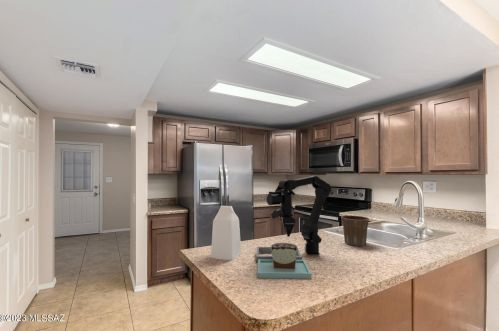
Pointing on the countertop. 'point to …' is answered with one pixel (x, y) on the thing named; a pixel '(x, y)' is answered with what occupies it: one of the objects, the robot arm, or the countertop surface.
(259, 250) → the grey rectangular frame
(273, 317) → the countertop surface
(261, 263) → the tray
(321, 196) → the robot arm
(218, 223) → the milk
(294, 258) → the food container
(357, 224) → the plant pot
